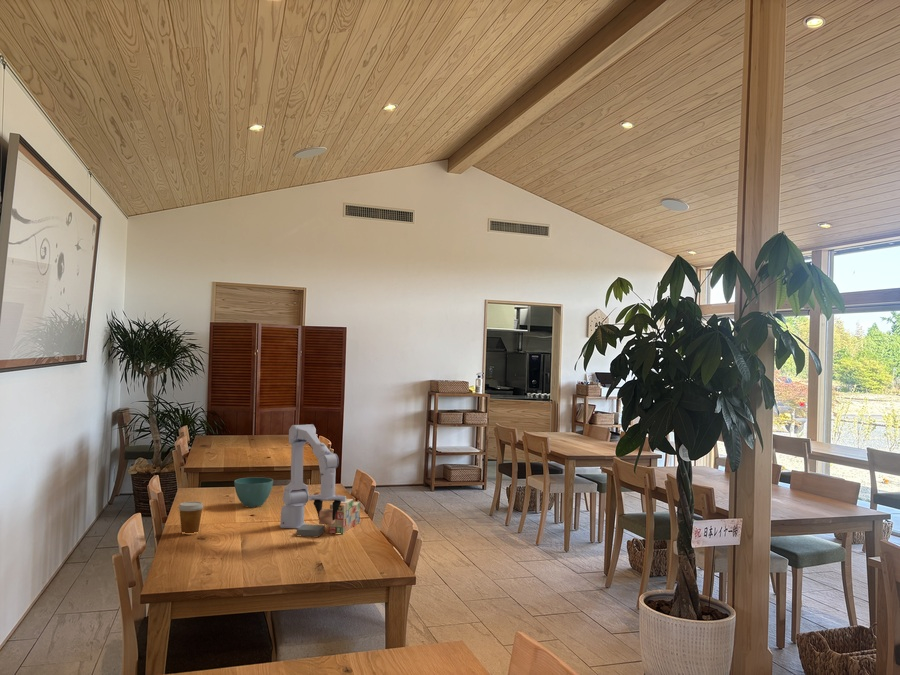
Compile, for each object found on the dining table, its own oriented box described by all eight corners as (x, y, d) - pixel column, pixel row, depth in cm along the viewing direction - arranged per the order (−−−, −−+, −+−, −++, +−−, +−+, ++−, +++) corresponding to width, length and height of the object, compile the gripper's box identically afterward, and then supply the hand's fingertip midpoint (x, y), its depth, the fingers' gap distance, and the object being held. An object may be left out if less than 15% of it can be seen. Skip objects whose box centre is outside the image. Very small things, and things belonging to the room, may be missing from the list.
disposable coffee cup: (207, 532, 273) (208, 502, 274) (189, 537, 265) (190, 506, 265) (190, 529, 277) (191, 500, 278) (172, 534, 269) (173, 504, 269)
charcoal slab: (296, 536, 270) (296, 529, 270) (303, 531, 279) (303, 524, 279) (318, 537, 269) (318, 530, 270) (324, 532, 278) (324, 525, 278)
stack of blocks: (346, 522, 296) (347, 494, 296) (359, 523, 295) (360, 495, 295) (328, 533, 275) (329, 503, 275) (343, 534, 274) (344, 504, 274)
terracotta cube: (319, 524, 263) (319, 511, 263) (322, 521, 268) (322, 508, 268) (331, 524, 262) (331, 511, 262) (334, 521, 267) (335, 509, 267)
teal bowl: (280, 504, 329) (280, 479, 330) (251, 511, 314) (252, 484, 314) (254, 500, 339) (255, 476, 340) (225, 506, 324) (226, 480, 324)
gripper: (307, 485, 262) (306, 520, 262) (343, 487, 261) (342, 522, 260) (312, 482, 269) (311, 516, 269) (347, 483, 268) (346, 518, 267)
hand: (327, 519), depth 265 cm, fingers closed on terracotta cube, 5 cm apart
